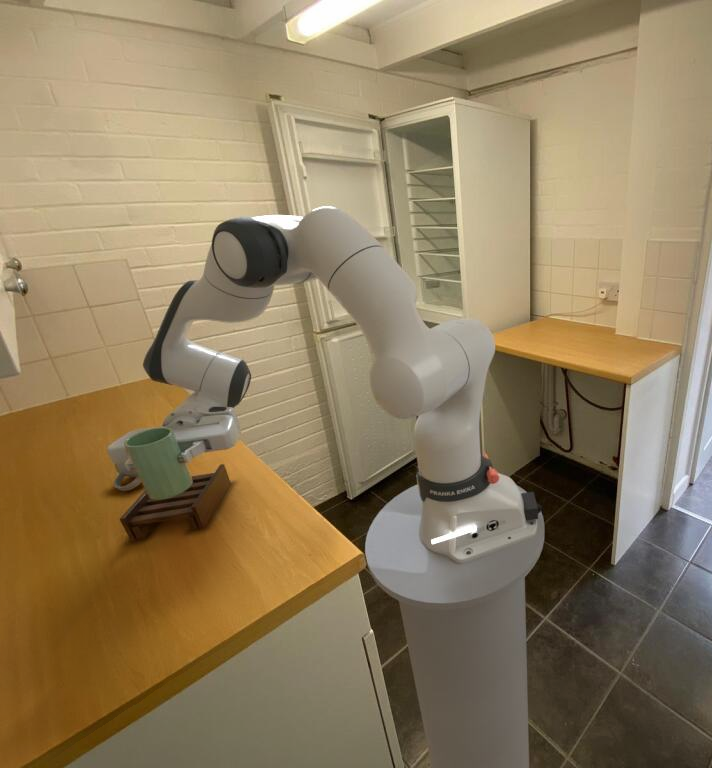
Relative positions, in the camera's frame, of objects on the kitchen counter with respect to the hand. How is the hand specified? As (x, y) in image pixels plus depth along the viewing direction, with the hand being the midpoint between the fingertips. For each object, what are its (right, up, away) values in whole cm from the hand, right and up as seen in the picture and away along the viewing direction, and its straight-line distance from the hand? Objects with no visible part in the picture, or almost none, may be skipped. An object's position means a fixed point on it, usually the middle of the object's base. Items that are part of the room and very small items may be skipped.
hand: (157, 463), depth 74 cm
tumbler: (0, -5, +3) cm, 6 cm away
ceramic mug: (-25, -9, +26) cm, 37 cm away
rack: (-6, -13, +15) cm, 20 cm away
